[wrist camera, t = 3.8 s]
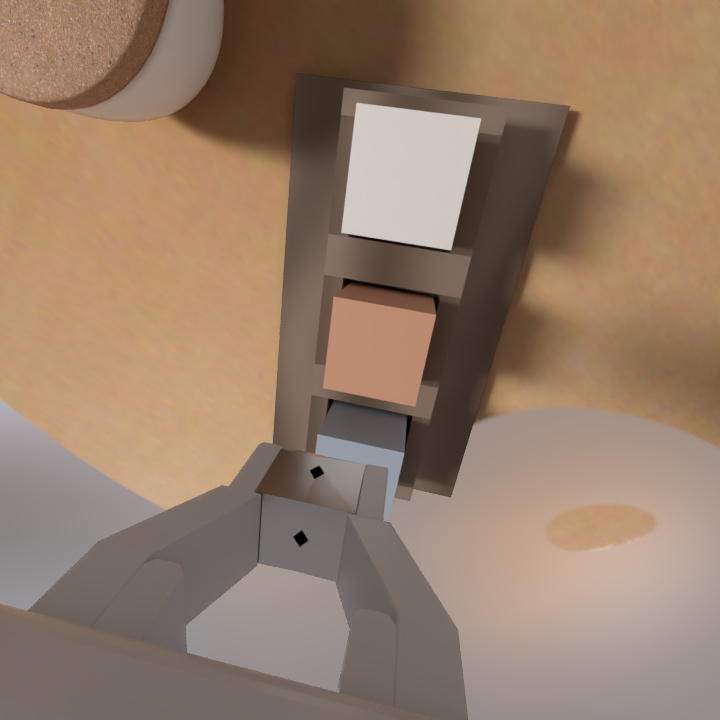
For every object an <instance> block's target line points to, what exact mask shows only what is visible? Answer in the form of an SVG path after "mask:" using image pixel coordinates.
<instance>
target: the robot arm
mask: <svg viewBox="0 0 720 720" xmlns="http://www.w3.org/2000/svg"><path fill="white" fill-rule="evenodd" d="M364 471H365V472H364ZM387 479H388V469H387V468H385V467H380V466H374V465H369V464H366V467H365V465H364V464H360V463H355V462H350V461H345V460H340V459H335V458H330V457H325V456H323V455H318V454H314V453H310V452H306V451H301V450H297V449H293V448H288V447H282V446H279V445H275V444H270V443H265V442H263V443H261V444H259V445H258V447H257V448H256V449H255V451H254V452H253V454H252V455H251V456H250V458H249V459H248V461H247V462H246V463H245V465H244V466H243V467H242V469H241V470H240V472H239V473H238V474H237V476H236V477H235V479H234V480H233V481H232V483H231V484H230V485H229V487H228V486H223V485H222V486H220V487H217V488H215V489H213V490H211V491H208V492H206V493H204V494H202V495H200V496H197V497H195V498H193V499H191V500H189V501H186V502H184V503H182V504H180V505H178V506H175V507H173V508H171V509H169V510H166V511H164V512H162V513H160V514H158V515H155V516H153V517H151V518H149V519H147V520H144V521H142V522H140V523H138V524H136V525H133V526H131V527H129V528H127V529H124V530H122V531H120V532H118V533H116V534H113V535H111V536H109V537H107V538H105V539H102V540H100V541H98V542H97V543H96V544H95V545H94V546H93V547H92V548H91V549H90V550H89V551H88V552H87V553H86V554H85V555H84V556H83V557H82V558H81V559H80V560H79V561H78V562H77V563H76V564H75V565H74V566H73V567H72V568H71V569H70V570H69V571H68V572H67V573H66V574H64V576H62V577H61V578H60V580H59V581H57V582H56V584H54V585H53V586H52V587H51V588H50V589H49V590H48V591H47V592H46V593H45V594H44V595H43V596H42V597H41V598H40V599H39V600H38V601H37V602H36V603H35V604H34V605H33V606H32V607H31V608H30V609H29V610H28V611H26V610H22V609H18V608H15V607H11V606H7V605H3V604H0V720H468V714H467V706H466V697H465V688H464V680H463V670H462V661H461V654H460V653H461V652H460V643H459V635H458V629H457V627H456V626H455V624H454V623H453V621H452V619H451V618H450V616H449V615H448V613H447V611H446V610H445V609H444V607H443V605H442V604H441V602H440V600H439V599H438V597H437V596H436V594H435V593H434V591H433V589H432V588H431V586H430V585H429V583H428V582H427V580H426V578H425V577H424V575H423V574H422V572H421V571H420V569H419V567H418V566H417V564H416V563H415V561H414V560H413V558H412V556H411V555H410V553H409V552H408V550H407V548H406V547H405V545H404V544H403V542H402V541H401V539H400V537H399V536H398V534H397V533H396V531H395V530H394V528H393V526H392V525H391V523H389V522H385V521H383V519H384V509H385V499H386V489H387ZM257 563H259V564H264V565H269V566H274V567H279V568H284V569H288V570H293V571H298V572H301V573H306V574H309V575H313V576H316V577H320V578H324V579H327V580H331V581H335V582H336V585H337V589H338V592H339V596H340V599H341V602H342V605H343V608H344V611H345V615H346V618H347V621H348V624H349V628H350V631H349V636H348V641H347V646H346V651H345V655H344V660H343V665H342V670H341V674H340V679H339V684H338V689H337V692H335V691H331V690H327V689H323V688H319V687H316V686H311V685H308V684H304V683H300V682H296V681H293V680H289V679H285V678H281V677H277V676H273V675H270V674H266V673H262V672H258V671H255V670H251V669H247V668H243V667H239V666H236V665H232V664H227V663H224V662H220V661H216V660H212V659H208V658H205V657H201V656H197V655H194V654H190V653H187V648H186V647H187V645H186V625H187V624H188V623H189V622H190V621H191V620H193V619H194V618H195V617H196V616H197V615H199V614H200V613H201V612H202V611H203V610H205V609H206V608H207V607H208V606H209V605H211V604H212V603H213V602H214V601H215V600H217V599H218V598H219V597H220V596H221V595H223V594H224V593H225V592H226V591H227V590H229V589H230V588H231V587H232V586H233V585H234V584H236V583H237V582H238V581H239V580H241V579H242V578H243V577H244V576H245V575H247V574H248V573H249V572H250V571H251V570H253V569H254V568H255V567H256V566H257Z"/></svg>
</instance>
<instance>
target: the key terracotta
mask: <svg viewBox="0 0 720 720" xmlns="http://www.w3.org/2000/svg"><path fill="white" fill-rule="evenodd" d="M435 318H436V310H435V305H434V300H433V297H430V296H424V295H418V294H413V293H407V292H401V291H395V290H390V289H384V288H378V287H372V286H367V285H361V284H355V283H350V284H348V285H347V286H346V287H345V288H343V289H342V290H341V291H340V292H339V293H337V294H336V295H335V296H334V298H333V307H332V315H331V324H330V332H329V341H328V349H327V358H326V366H325V375H324V383H323V388H325V389H330V390H335V391H340V392H345V393H350V394H355V395H360V396H365V397H370V398H374V399H379V400H384V401H389V402H394V403H399V404H404V405H409V406H414V407H415V405H416V401H417V397H418V392H419V388H420V384H421V379H422V375H423V370H424V366H425V362H426V357H427V353H428V349H429V344H430V340H431V336H432V331H433V327H434V323H435Z"/></svg>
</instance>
